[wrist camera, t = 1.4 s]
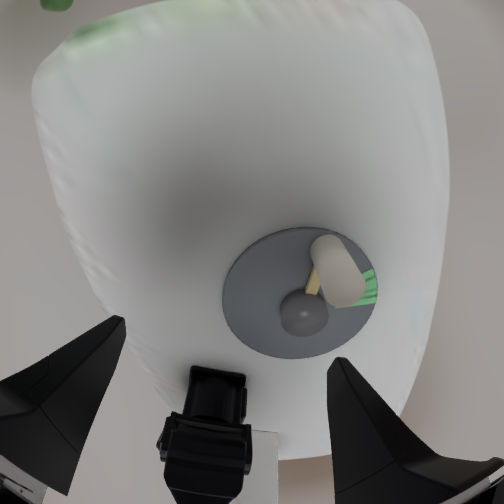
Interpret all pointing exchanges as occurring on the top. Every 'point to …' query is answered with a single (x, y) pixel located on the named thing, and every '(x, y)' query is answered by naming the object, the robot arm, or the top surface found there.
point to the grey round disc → (282, 284)
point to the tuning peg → (333, 285)
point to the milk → (261, 471)
